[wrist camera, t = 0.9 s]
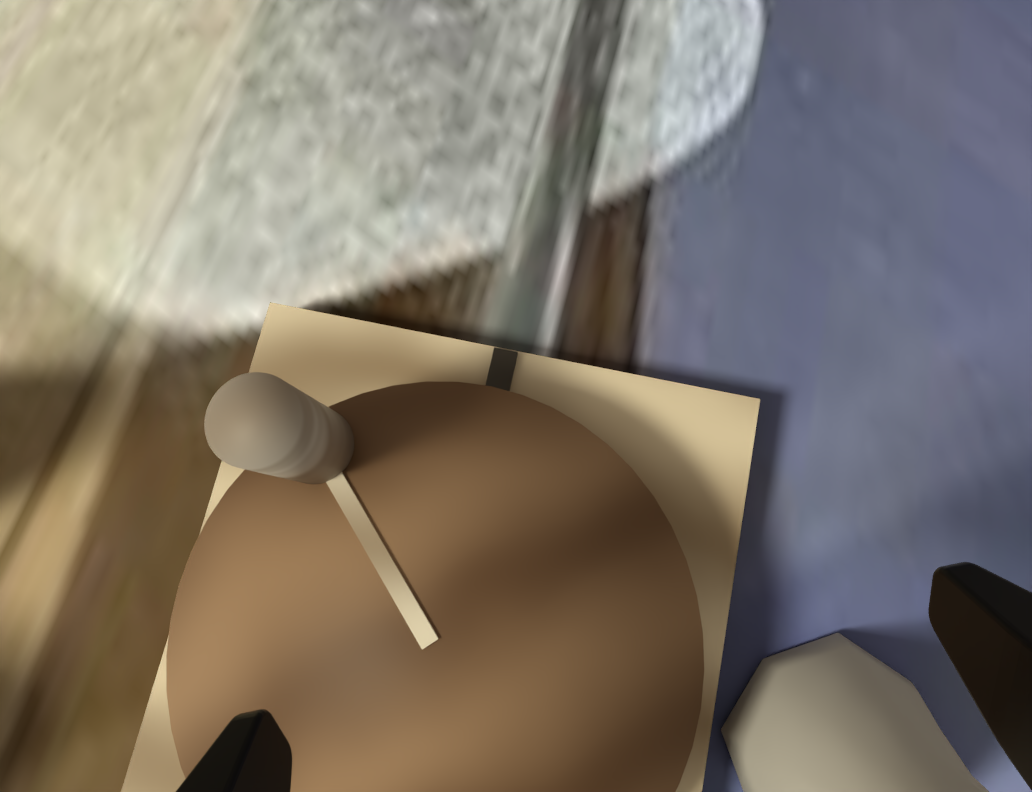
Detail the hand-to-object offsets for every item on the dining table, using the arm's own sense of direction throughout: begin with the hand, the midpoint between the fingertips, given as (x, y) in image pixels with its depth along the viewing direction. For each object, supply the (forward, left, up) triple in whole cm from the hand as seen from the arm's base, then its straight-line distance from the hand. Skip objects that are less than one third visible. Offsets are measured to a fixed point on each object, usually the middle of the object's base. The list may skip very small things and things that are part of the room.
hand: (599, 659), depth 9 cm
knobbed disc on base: (-2, +4, -15) cm, 15 cm away
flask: (-3, -10, -17) cm, 20 cm away
